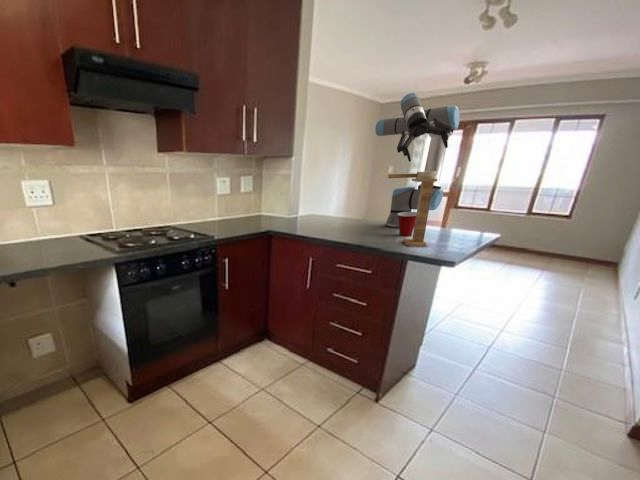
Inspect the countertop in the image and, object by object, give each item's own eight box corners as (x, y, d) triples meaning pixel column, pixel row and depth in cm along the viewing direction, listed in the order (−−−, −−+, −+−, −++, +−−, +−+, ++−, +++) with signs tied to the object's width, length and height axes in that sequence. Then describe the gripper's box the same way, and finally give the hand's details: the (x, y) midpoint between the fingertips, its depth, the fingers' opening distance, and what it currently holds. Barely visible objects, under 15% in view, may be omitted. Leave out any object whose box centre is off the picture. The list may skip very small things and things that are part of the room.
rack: (402, 241, 168) (412, 178, 157) (419, 241, 166) (430, 178, 155) (407, 246, 159) (417, 179, 148) (426, 246, 157) (437, 178, 146)
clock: (386, 179, 158) (387, 172, 157) (432, 178, 154) (433, 171, 153) (389, 180, 151) (390, 173, 150) (438, 178, 147) (439, 171, 146)
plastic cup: (389, 234, 185) (392, 212, 181) (403, 232, 189) (407, 211, 185) (406, 238, 176) (409, 214, 171) (420, 235, 180) (424, 212, 176)
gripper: (384, 126, 150) (393, 158, 140) (448, 98, 139) (463, 131, 129) (387, 139, 156) (396, 170, 146) (448, 114, 144) (462, 146, 134)
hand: (427, 152), depth 137 cm, fingers open, 13 cm apart
